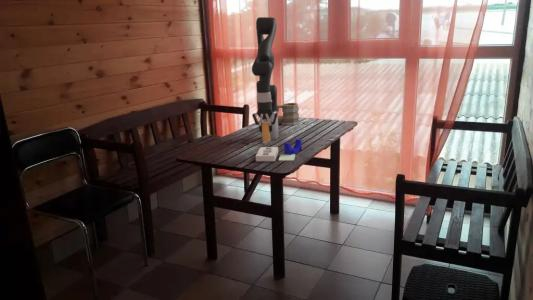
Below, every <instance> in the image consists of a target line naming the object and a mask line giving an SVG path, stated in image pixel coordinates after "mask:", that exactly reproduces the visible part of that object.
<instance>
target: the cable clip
mask: <svg viewBox="0 0 533 300" xmlns="http://www.w3.org/2000/svg"><path fill="white" fill-rule="evenodd" d="M302 141H303V140H302V139H300V138H297V139H295V142H294V145H293V147H291V143H290V142H284V143H283V145H284V146H283V148H284V151H283V152H284V153H283V154H288V155H292V154H295V155H296V154H298V152H300V151H303V147H302V146H303V145H302V143H303V142H302Z"/></svg>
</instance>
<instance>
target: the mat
mask: <svg viewBox="0 0 533 300" xmlns="http://www.w3.org/2000/svg"><path fill="white" fill-rule="evenodd" d="M295 157H296V153H295V154H292V155H288V154H284V153H283V154H280V155H279V158H278V162H295V161H294V160H295Z"/></svg>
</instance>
